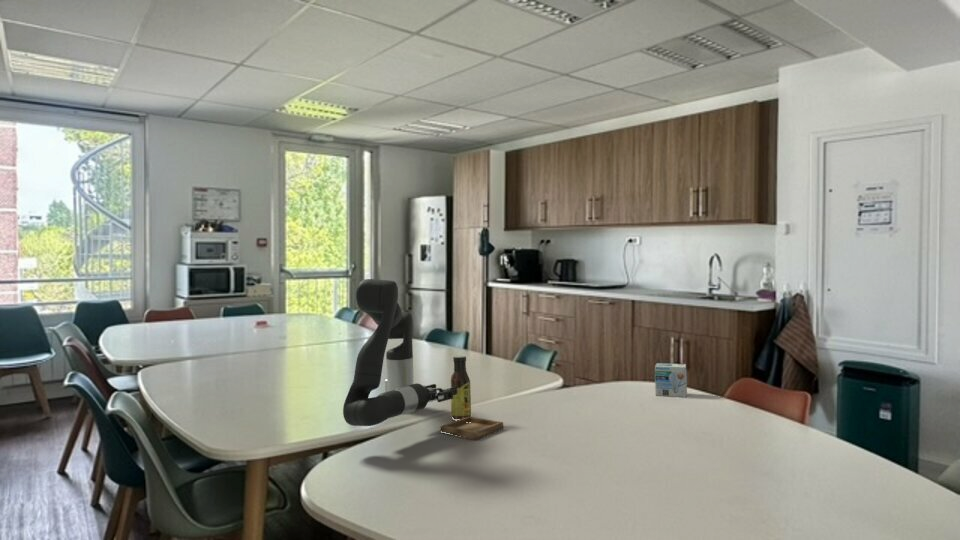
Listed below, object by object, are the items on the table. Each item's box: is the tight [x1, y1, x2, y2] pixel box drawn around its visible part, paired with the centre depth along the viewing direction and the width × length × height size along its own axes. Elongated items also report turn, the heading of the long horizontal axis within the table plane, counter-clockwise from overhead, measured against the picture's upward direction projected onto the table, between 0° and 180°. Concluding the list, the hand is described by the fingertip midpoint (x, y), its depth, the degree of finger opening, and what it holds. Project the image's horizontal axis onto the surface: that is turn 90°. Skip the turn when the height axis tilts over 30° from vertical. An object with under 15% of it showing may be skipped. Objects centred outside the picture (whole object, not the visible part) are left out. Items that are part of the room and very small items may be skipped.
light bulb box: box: [654, 362, 688, 398], centre depth 200 cm, size 11×7×11 cm, turn 68°
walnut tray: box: [439, 416, 504, 441], centre depth 161 cm, size 13×13×2 cm
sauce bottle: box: [450, 355, 472, 419], centre depth 175 cm, size 7×6×20 cm
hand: (445, 388), depth 169 cm, fingers open, 8 cm apart
